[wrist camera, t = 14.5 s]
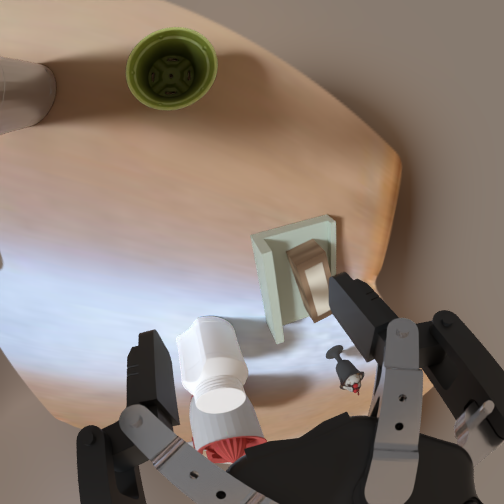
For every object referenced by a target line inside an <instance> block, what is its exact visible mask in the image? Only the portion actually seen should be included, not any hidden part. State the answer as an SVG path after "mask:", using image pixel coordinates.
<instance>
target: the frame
mask: <svg viewBox="0 0 504 504" xmlns="http://www.w3.org/2000/svg"><path fill="white" fill-rule="evenodd" d="M286 254H287V257H288V260H289V263H290V266H291V269H292V272H293V275H294V278H295V281H296V283H297V286H298V289H299V292H300V295H301V298H302V301H303V304H304V307H305V309H306V311H307V312H308V314H309V315H310V317H311V319H312V320H313V322H314V323H316V322H318V321H320V320H322V319H324V318H326V317H327V316H329V315H331V314H332V312H331V310H330V307H329V278H330V277H331V273H330V268H329V264H328V260H327V255H326V252H325V251H324V250H323V249H322V247H321V246H320V245H319V244H318V243H317V242H316V241H315V240H314V239H311V240H308V241H306V242H304V243H302V244H300V245H298V246H296V247H294V248H292V249H290V250H288V251H286Z"/></svg>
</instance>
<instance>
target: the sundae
mask: <svg viewBox="0 0 504 504" xmlns="http://www.w3.org/2000/svg"><path fill="white" fill-rule="evenodd" d="M342 350H343V347H342V346H340V345H339V346H335V347H333V348H331V349H330V350H329V351H328V352H327V354H326V358H328V359H332V358H335V359H336V360H337V362H338V364H337V366H336V372H337V374H338V377H339V379H340V382H341V385H340V388H341V389H343V390H349V391H350V392H354V393H357V392H358V391H359V389H360V387H361V380H362V379H363V378H364V372H360V371H359V370H357V369H356V367H355V366H354V365H353V364H352V363H351V362H350V361H349V360H342V359H341V357H340V355H339V354H340V353H341V352H342ZM358 395H359V392H358Z"/></svg>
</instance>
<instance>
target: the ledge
mask: <svg viewBox="0 0 504 504" xmlns="http://www.w3.org/2000/svg"><path fill="white" fill-rule="evenodd" d="M250 236H251V241H252V246H253V252H254V257H255V262H256V268H257V273H258V278H259V284H260V289H261V294H262V300H263V305H264V311H265V316H266V321H267V324H268V327H269V329H270V331H271V333H272V335H273V337H274V340H275V342H276V344H280V343H282V342H284V335H283V327H282V326H283V325H286V324H289V323H292V322H295V321H298V320H300V319H303V318H306V317H309V316H310V315H309V314H308V312H307V311H306V309H305V307H304V304H303V301H302V298H301V295H300V292H299V289H298V286H297V283H296V281H295V278H294V275H293V272H292V269H291V266H290V263H289V260H288V257H287V254H286V251H288V250H290V249H292V248H294V247H296V246H298V245H300V244H302V243H304V242H306V241H308V240H311V239H314V240H315V241H316V242H317V243H318V244H319V245H320V246H321V247H322V249H323V250H324V251H325V252H326V255H327V260H328V264H329V268H330V273H331V276H334V275H336V221H335V220H333V219H332V218H331V217H330V216H328V215H323V216H319V217H315V218H312V219H308V220H304V221H301V222H297V223H293V224H290V225H286V226H282V227H279V228H275V229H271V230H268V231H264V232H260V233H257V234H253V235H250Z"/></svg>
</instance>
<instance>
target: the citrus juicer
mask: <svg viewBox="0 0 504 504" xmlns="http://www.w3.org/2000/svg"><path fill="white" fill-rule="evenodd" d="M190 402H191V404H190V424H191V429H192V435H193V437H192V442H187V443H188V444H189V445H190V446H193V447H194V449H195V450H197V451H198V452H199V453H201V454H203V451H206V454H207V457H208V459H209V460H210V461H211V462H213V463H225V462H231V463H234V462H235V461H236V460H237V459H239V458H240V457H242V456H244V455H245V451H244V449H245V448H249V447H252V446H256V445H259V444H263V443H266V442H267V440H266V439H265V438H264V436H263V433H262V430H261V427H260V424H259V421H258V419H257V416H256V413H255V410H254V408H253V405H252V403H251V402H250V400H249V398H248V397H247V395H246V399H245V401H244V403H243V404H242V405H241V406H239V407H238V408H236V409H234V410H232V411H229V412H225V413H218V414H211V413H205V412H202V411H201V410H199V409H198V408H197V407H196V403H195V399H194V396H193V395H192V397H191V401H190Z"/></svg>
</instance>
